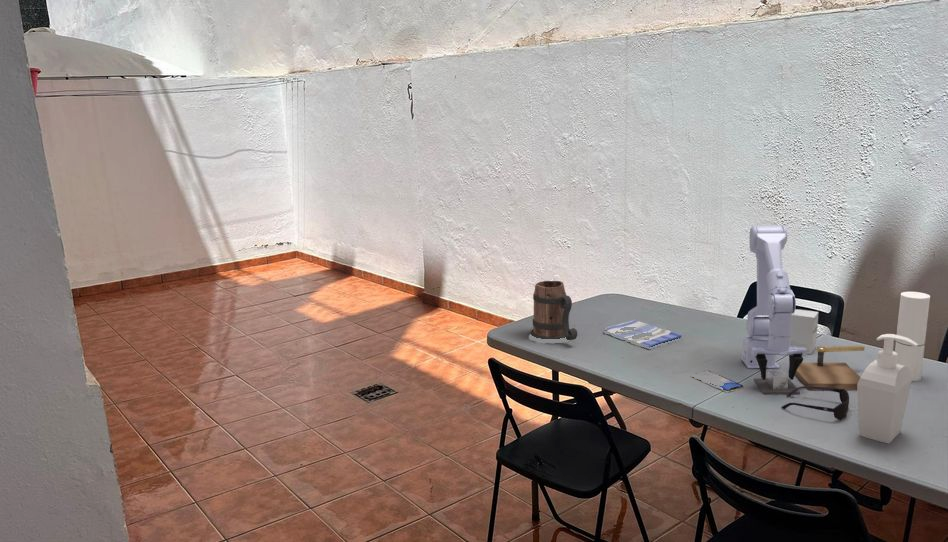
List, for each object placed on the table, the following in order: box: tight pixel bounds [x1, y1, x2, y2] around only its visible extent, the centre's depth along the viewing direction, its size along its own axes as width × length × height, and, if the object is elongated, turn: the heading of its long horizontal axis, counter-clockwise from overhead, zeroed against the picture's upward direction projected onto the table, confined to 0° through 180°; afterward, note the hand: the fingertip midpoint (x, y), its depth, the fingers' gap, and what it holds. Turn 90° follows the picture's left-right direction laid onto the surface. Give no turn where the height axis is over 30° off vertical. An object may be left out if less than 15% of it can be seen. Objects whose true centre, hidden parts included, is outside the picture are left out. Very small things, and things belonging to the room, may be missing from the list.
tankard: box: [529, 280, 578, 341], centre depth 249 cm, size 24×17×20 cm
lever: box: [816, 345, 865, 354], centre depth 210 cm, size 14×2×1 cm, turn 88°
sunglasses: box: [781, 385, 850, 421], centre depth 188 cm, size 14×16×5 cm
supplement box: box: [790, 308, 819, 355], centre depth 228 cm, size 7×7×13 cm
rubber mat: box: [753, 377, 801, 395], centre depth 202 cm, size 10×10×1 cm
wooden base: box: [794, 352, 861, 391], centre depth 205 cm, size 16×16×6 cm
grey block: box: [766, 368, 789, 390], centre depth 201 cm, size 4×6×4 cm, turn 173°
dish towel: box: [603, 319, 683, 348], centre depth 250 cm, size 17×24×3 cm
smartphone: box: [708, 370, 745, 391], centre depth 208 cm, size 8×15×1 cm, turn 27°
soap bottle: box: [856, 333, 918, 445], centre depth 169 cm, size 12×10×26 cm
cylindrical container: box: [894, 291, 931, 382], centre depth 202 cm, size 7×7×25 cm
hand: (777, 378), depth 202 cm, fingers open, 7 cm apart
